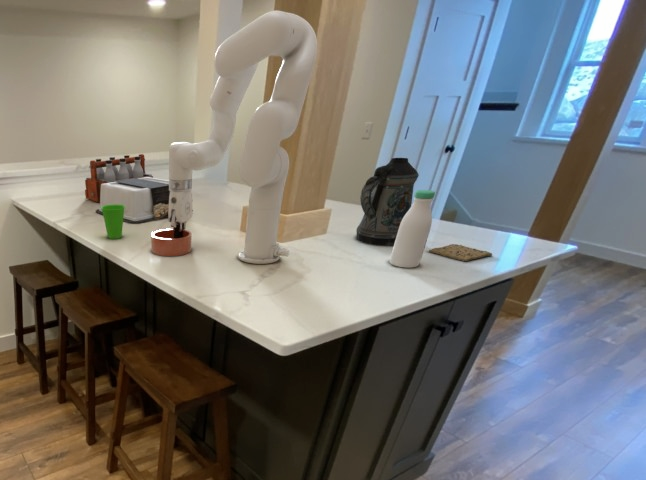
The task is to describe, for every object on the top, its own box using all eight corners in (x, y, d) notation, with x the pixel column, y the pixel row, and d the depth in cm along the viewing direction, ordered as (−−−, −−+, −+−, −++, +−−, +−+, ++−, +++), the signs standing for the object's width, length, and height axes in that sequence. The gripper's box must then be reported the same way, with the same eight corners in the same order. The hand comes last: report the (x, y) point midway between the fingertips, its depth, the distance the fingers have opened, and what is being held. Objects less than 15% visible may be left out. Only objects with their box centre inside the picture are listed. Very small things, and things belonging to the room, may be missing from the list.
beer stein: (414, 237, 152) (439, 156, 139) (396, 251, 141) (421, 164, 127) (364, 231, 162) (382, 154, 149) (343, 243, 151) (361, 161, 137)
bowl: (197, 247, 154) (197, 231, 151) (180, 258, 144) (181, 241, 141) (162, 243, 160) (162, 227, 157) (144, 253, 150) (144, 236, 147)
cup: (123, 240, 165) (122, 209, 159) (100, 240, 166) (97, 209, 160) (128, 234, 172) (127, 204, 166) (106, 234, 174) (104, 204, 168)
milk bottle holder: (81, 200, 235) (77, 159, 225) (134, 190, 252) (133, 152, 242) (103, 205, 221) (100, 162, 210) (157, 195, 238) (157, 155, 227)
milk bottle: (417, 269, 126) (441, 194, 115) (387, 266, 130) (408, 192, 119) (419, 262, 131) (442, 189, 121) (390, 258, 135) (410, 187, 124)
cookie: (427, 251, 139) (428, 248, 138) (454, 245, 143) (455, 242, 142) (465, 261, 130) (466, 258, 129) (492, 255, 133) (494, 252, 133)
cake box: (194, 212, 199) (195, 182, 193) (134, 224, 184) (133, 192, 178) (148, 201, 224) (148, 174, 217) (92, 212, 209) (89, 183, 202)
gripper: (180, 189, 138) (179, 248, 149) (200, 181, 149) (197, 237, 159) (159, 188, 142) (159, 246, 152) (180, 181, 153) (178, 235, 163)
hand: (179, 241), depth 156 cm, fingers closed on bowl, 1 cm apart
